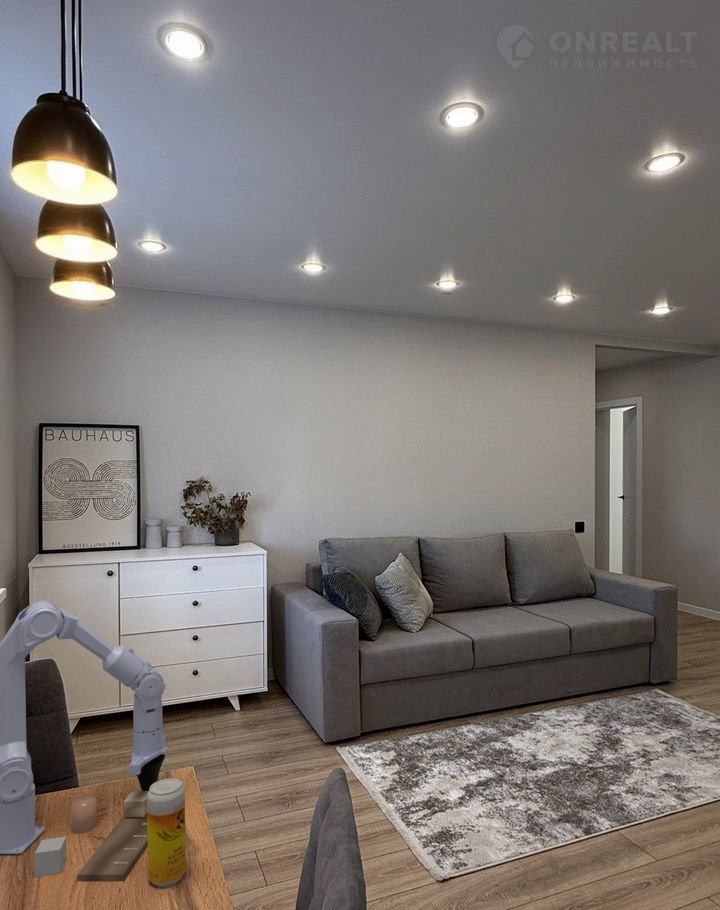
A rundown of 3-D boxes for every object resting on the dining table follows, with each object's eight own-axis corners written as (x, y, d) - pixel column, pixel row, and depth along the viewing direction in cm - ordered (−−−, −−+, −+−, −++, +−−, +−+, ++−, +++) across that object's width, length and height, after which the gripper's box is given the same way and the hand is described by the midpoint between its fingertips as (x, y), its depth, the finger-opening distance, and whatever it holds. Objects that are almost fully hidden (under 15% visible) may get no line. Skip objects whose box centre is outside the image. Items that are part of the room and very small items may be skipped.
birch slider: (124, 817, 119) (123, 801, 119) (132, 806, 123) (132, 791, 123) (152, 817, 119) (152, 801, 119) (160, 806, 123) (160, 791, 123)
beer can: (174, 890, 99) (173, 796, 100) (140, 886, 100) (139, 793, 101) (192, 867, 105) (190, 778, 105) (160, 864, 106) (158, 776, 107)
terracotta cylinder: (67, 833, 116) (66, 807, 116) (78, 821, 121) (78, 795, 121) (89, 833, 116) (89, 806, 116) (100, 821, 120) (100, 795, 121)
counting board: (77, 880, 102) (77, 873, 102) (132, 810, 124) (132, 804, 124) (123, 880, 102) (123, 874, 102) (170, 810, 124) (170, 804, 124)
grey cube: (34, 877, 103) (34, 853, 104) (41, 863, 107) (41, 839, 108) (60, 873, 104) (60, 849, 104) (66, 859, 108) (66, 836, 108)
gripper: (153, 742, 120) (154, 812, 119) (178, 714, 134) (179, 777, 133) (118, 742, 120) (119, 813, 119) (147, 714, 134) (148, 777, 134)
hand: (148, 794), depth 126 cm, fingers closed
